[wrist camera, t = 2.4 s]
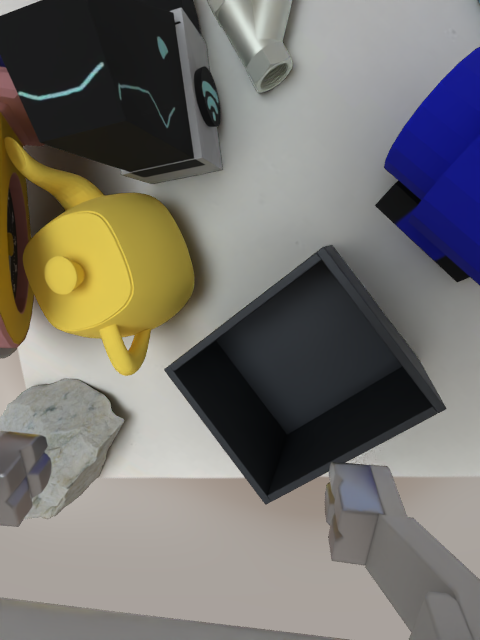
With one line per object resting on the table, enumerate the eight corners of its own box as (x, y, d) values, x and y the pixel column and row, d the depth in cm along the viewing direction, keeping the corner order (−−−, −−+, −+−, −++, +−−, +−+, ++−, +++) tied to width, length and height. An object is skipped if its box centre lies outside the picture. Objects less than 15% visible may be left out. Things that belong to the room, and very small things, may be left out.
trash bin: (331, 244, 35) (323, 246, 25) (419, 360, 35) (446, 409, 25) (210, 337, 40) (163, 369, 30) (286, 439, 40) (265, 505, 30)
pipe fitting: (281, -37, 32) (214, 18, 34) (276, -76, 28) (201, -12, 30) (329, 48, 33) (260, 98, 34) (329, 21, 29) (252, 79, 30)
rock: (22, 352, 47) (-39, 376, 40) (137, 403, 45) (95, 439, 37) (6, 452, 52) (-50, 491, 44) (110, 504, 49) (68, 554, 42)
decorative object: (-4, 137, 21) (-75, -187, 19) (151, 184, 39) (124, 17, 36) (126, 102, 19) (64, -271, 17) (229, 168, 36) (206, -11, 34)
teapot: (155, 134, 37) (65, 87, 26) (232, 326, 39) (182, 363, 27) (53, 195, 42) (-63, 177, 30) (127, 364, 43) (44, 410, 32)
